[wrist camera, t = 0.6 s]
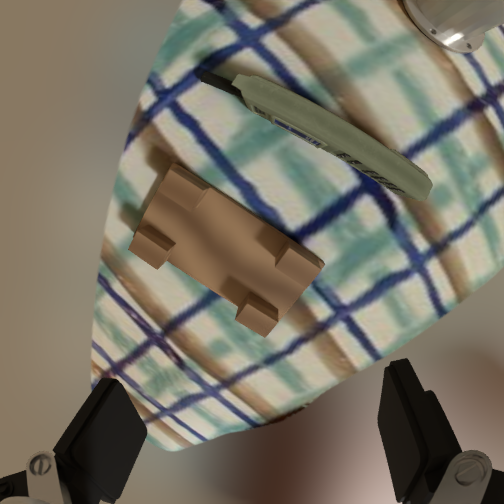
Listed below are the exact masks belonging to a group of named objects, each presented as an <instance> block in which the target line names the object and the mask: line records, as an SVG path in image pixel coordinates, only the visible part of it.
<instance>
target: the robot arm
mask: <svg viewBox="0 0 504 504" xmlns="http://www.w3.org/2000/svg"><path fill="white" fill-rule="evenodd" d="M403 3H404V6H405V9H406V11H407V12H408V14H409V16H410V17H411V19H412V20H413V22H414V23H415V24H416V25H417V27H418V28H419V29H420V30H421V31H422V32H423V33H424V34H425V35H426V36H427V37H429V38H430V39H431V40H432V41H434V42H435V43H437V44H438V45H440V46H441V47H443V48H445V49H447V50H450V51H452V52H456V53H461V54H463V53H470V52H473V51H475V50H477V49H479V48H480V47H481V46H482V44H483V41H484V37H485V32H486V31H488V30H491V29H493V28H495V27H497V26H499V25H501V24H504V0H403ZM378 427H379V431H380V435H381V438H382V442H383V446H384V450H385V454H386V457H387V462H388V466H389V470H390V474H391V479H392V483H393V487H394V492H395V496H396V500H397V502H398V503H400V502H402V504H504V472H502V471H498V470H495V469H492V463H491V461H490V459H489V457H488V456H486V454H484V453H483V452H480V451H477V450H469V451H464V452H462V450H461V447H460V445H459V443H458V441H457V438H456V436H455V434H454V432H453V430H452V428H451V426H450V423H449V421H448V419H447V417H446V415H445V413H444V411H443V409H442V407H441V405H440V403H439V401H438V399H437V397H436V395H435V394H434V392H433V391H431V390H428V391H424V389H423V388H422V385H421V383H420V381H419V379H418V377H417V375H416V373H415V372H414V370H413V367H412V366H411V364H410V362H409V360H408V359H407V358H405V359H400V360H396V361H391V362H390V365H389V366H388V367H385V370H384V378H383V386H382V393H381V400H380V406H379V412H378ZM146 436H147V428H146V426H145V424H144V422H143V421H142V419H141V417H140V416H139V414H138V412H137V410H136V409H135V407H134V405H133V403H132V401H131V400H130V398H129V396H128V394H127V392H126V390H125V388H124V387H123V385H122V384H121V383H120V382H119V381H118V380H117V379H113V378H102V379H101V380H100V381H99V383H98V384H97V385H96V387H95V388H94V390H93V391H92V392H91V394H90V395H89V397H88V398H87V400H86V401H85V403H84V404H83V405H82V407H81V408H80V410H79V411H78V413H77V414H76V416H75V417H74V419H73V420H72V422H71V423H70V425H69V426H68V427H67V429H66V430H65V432H64V434H63V435H62V437H61V438H60V440H59V441H58V443H57V444H56V446H55V447H54V449H53V451H54V452H55V456H53V455H52V454H51V453H49V452H47V451H41V452H37V453H35V454H34V455H32V456H31V457H30V459H29V460H28V462H27V466H26V470H24V471H22V472H19V473H15V474H12V475H9V476H6V477H3V478H1V479H0V504H99V502H100V500H102V501H105V502H108V503H111V504H114V503H115V501H116V499H118V498H119V497H120V496H121V494H122V491H123V489H124V487H125V484H126V482H127V480H128V477H129V475H130V473H131V470H132V468H133V466H134V463H135V461H136V459H137V457H138V454H139V452H140V450H141V447H142V445H143V443H144V441H145V438H146Z"/></svg>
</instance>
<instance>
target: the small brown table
mask: <svg viewBox="0 0 504 504" xmlns="http://www.w3.org/2000/svg"><path fill="white" fill-rule="evenodd" d="M128 250H130V251H131V252H132V253H134V254H135V255H137V256H138V257H139V258H141V259H142V260H144V261H145V262H147V263H148V264H150V265H151V266H153V267H154V268H155V269H157V270H158V269H159V268H160V267H161V266H162V265H163V264H164V263H165V262H166V261H168V262H170V263H171V264H173V265H174V266H176V267H177V268H179V269H180V270H182V271H183V272H185V273H186V274H188V275H189V276H191V277H192V278H194V279H195V280H197V281H198V282H200V283H202V284H203V285H205V286H206V287H208V288H209V289H211V290H212V291H214V292H216V293H217V294H219V295H220V296H222V297H223V298H225V299H227V300H228V301H230V302H231V303H233V304H235V305H236V306H238V310H237V314H236V318H235V320H236V321H238V322H239V323H241V324H243V325H244V326H246V327H248V328H249V329H251V330H253V331H254V332H256V333H258V334H260V335H261V336H263V337H266V336H267V335H268V334H269V333H270V332H271V330H272V329H273V328H274V327H275V326H276V325H277V323H278V322H279V321H280V319H281V318H282V317H283V316H284V315H285V313H286V312H287V311H288V310H289V309H290V307H291V306H292V305H293V304H294V303H295V301H296V300H297V299H298V298H299V297H300V295H301V294H302V293H303V292H304V290H305V289H306V288H307V287H308V286H309V285H310V284H311V282H312V281H313V280H314V279H315V277H316V276H317V275H318V274H319V272H320V271H321V269H322V268H323V267H324V265H325V263H324V261H322V260H321V259H319V258H318V257H316V256H315V255H313V254H312V253H311V252H309V251H308V250H306V249H305V248H303V247H302V246H300V245H299V244H298V243H296V242H295V241H293V240H292V239H290V238H289V237H287V236H286V235H284V234H283V233H281V232H280V231H279V230H277V229H276V228H274V227H273V226H271V225H270V224H268V223H267V222H265V221H264V220H262V219H261V218H259V217H258V216H256V215H255V214H253V213H252V212H250V211H249V210H247V209H246V208H244V207H243V206H241V205H240V204H238V203H237V202H235V201H234V200H232V199H231V198H229V197H228V196H226V195H224V194H223V193H221V192H220V191H218V190H217V189H215V188H214V187H212V186H211V185H209V184H208V183H206V182H204V181H203V180H201V179H200V178H198V177H197V176H195V175H194V174H192V173H190V172H189V171H187V170H186V169H184V168H183V167H181V166H179V165H178V164H176V163H172V164H171V166H170V168H169V170H168V171H167V173H166V175H165V177H164V178H163V180H162V182H161V184H160V186H159V187H158V189H157V191H156V193H155V195H154V197H153V198H152V200H151V202H150V204H149V206H148V208H147V210H146V212H145V214H144V216H143V218H142V220H141V222H140V224H139V226H138V228H137V230H136V232H135V234H134V236H133V240H132V242H131V244H130V246H129V249H128Z"/></svg>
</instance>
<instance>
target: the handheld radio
mask: <svg viewBox="0 0 504 504" xmlns="http://www.w3.org/2000/svg"><path fill="white" fill-rule="evenodd" d="M201 82H204V83H206V84H209V85H211V86H214V87H216V88H219V89H221V90H224V91H226V92H228V93H231V94H235V95H237V96H239V97H240V98H242V99H244V101H245V103H246V105H247V107H248V109H249V110H250V111H251V112H253V113H255V114H257V115H259V116H261V117H263V118H265V119H267V120H269V121H271V123H272V124H274V125H276V126H278V127H280V128H282V129H284V130H286V131H288V132H290V133H292V134H293V135H295V136H297V137H299V138H301V139H303V140H305V141H306V142H308V143H310V144H312V145H314V146H315V147H317V148H322V149H323V150H325V151H327V152H329V153H331V154H333V155H334V156H336V157H338V158H340V159H341V160H343V161H345V162H346V163H348V164H350V165H351V166H353V167H355V168H356V169H358V170H359V171H361V172H363V173H364V174H366V175H367V176H369V177H371V178H372V179H374V180H375V181H377V182H378V183H380V184H381V185H383V186H384V187H386V188H387V189H389V190H390V191H392V192H393V193H395V194H397V195H401V196H405V197H408V198H412V199H415V200H419V201H423V200H426V199H427V197H428V195H429V192H430V190H431V188H432V182H431V180H430V179H429V178H428V175H427V174H426V173H425V172H424V171H423V170H422V169H420V168H419V167H418V166H417V165H415V164H414V163H413V162H411V161H410V160H408V159H407V158H406V157H404V156H403V155H402V154H400V153H399V152H397V151H396V150H395V149H389V148H387V147H386V146H384V145H383V144H381V143H380V142H378V141H377V140H375V139H374V138H372V137H371V136H369V135H368V134H366V133H365V132H363V131H361V130H360V129H358V128H357V127H355V126H353V125H352V124H350V123H348V122H347V121H345V120H343V119H342V118H340V117H338V116H337V115H335V114H333V113H331V112H330V111H328V110H326V109H324V108H322V107H321V106H319V105H317V104H315V103H313V102H311V101H310V100H308V99H306V98H304V97H302V96H300V95H298V94H296V93H294V92H292V91H290V90H288V89H286V88H284V87H282V86H280V85H278V84H276V83H273V82H271V81H269V80H267V79H265V78H263V77H260V76H258V75H251V76H250V77H248V76H245V75H242V74H238V75H237V76H236V78H235V79H234V81H233V82H232V81H230V80H227V79H225V78H223V77H220V76H218V75H215V74H213V73H210V72H207V71H205V72H204V73H203V75H202V77H201Z"/></svg>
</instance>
